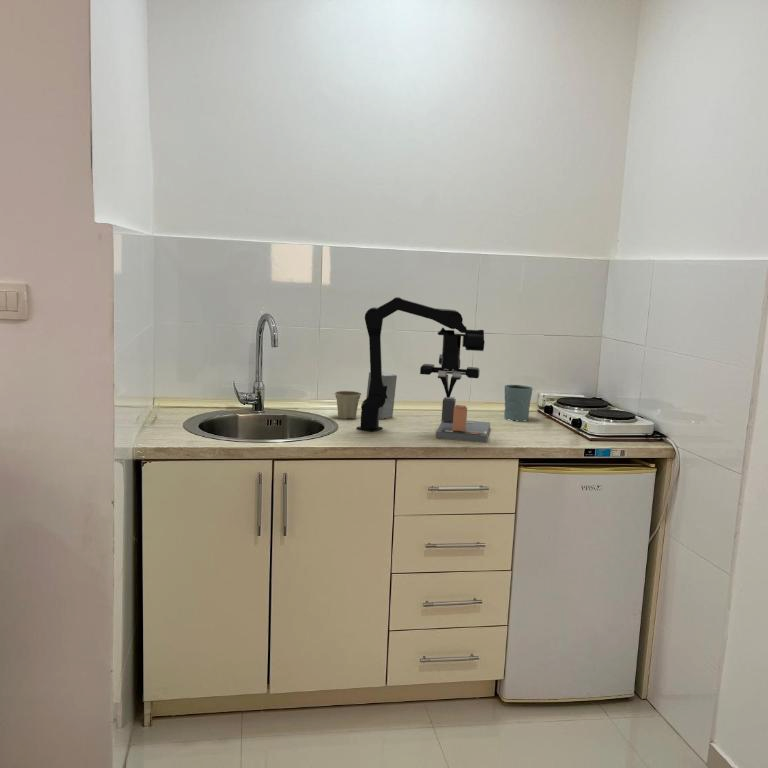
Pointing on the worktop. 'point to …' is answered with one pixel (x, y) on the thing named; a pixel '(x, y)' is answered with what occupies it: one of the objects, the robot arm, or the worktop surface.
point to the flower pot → (347, 403)
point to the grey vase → (387, 408)
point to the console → (472, 433)
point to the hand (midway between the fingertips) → (448, 397)
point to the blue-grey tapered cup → (517, 402)
